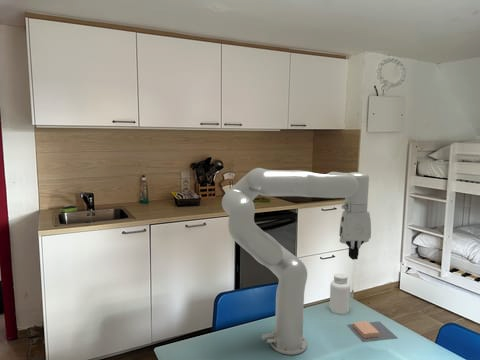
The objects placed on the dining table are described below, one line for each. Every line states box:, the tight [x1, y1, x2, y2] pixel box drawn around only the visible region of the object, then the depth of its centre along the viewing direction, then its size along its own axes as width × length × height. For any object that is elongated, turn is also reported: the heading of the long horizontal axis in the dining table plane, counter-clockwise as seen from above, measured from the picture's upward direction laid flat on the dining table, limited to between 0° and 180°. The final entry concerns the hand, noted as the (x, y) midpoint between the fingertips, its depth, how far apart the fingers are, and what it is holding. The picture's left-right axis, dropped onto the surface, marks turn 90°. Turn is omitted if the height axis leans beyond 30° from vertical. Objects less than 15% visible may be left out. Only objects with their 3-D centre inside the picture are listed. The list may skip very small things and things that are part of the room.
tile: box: [352, 320, 379, 338], centre depth 136 cm, size 2×8×6 cm
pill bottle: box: [329, 273, 351, 315], centre depth 153 cm, size 8×8×15 cm
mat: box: [346, 320, 399, 343], centre depth 137 cm, size 14×12×1 cm
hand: (353, 258), depth 131 cm, fingers closed
